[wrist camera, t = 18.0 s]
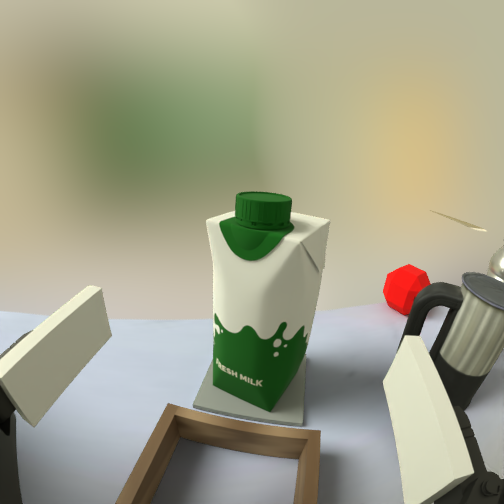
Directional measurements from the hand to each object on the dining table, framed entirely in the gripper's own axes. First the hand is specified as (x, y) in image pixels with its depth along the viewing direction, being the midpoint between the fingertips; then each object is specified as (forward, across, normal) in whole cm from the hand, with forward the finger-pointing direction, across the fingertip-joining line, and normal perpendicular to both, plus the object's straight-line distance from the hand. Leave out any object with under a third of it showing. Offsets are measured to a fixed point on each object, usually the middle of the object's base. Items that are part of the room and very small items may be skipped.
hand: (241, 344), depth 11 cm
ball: (+34, +24, -17) cm, 45 cm away
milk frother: (+10, +22, -17) cm, 29 cm away
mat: (+13, 0, -17) cm, 21 cm away
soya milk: (+13, 0, -16) cm, 21 cm away
